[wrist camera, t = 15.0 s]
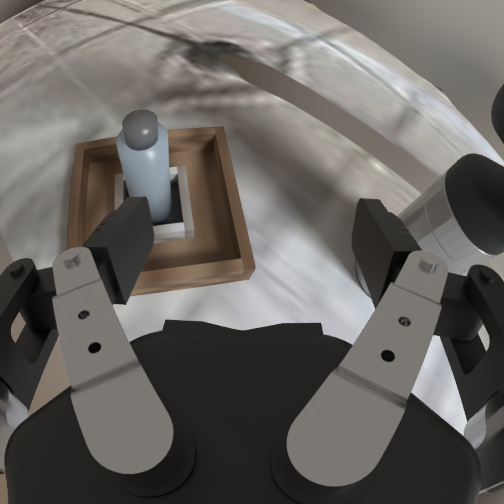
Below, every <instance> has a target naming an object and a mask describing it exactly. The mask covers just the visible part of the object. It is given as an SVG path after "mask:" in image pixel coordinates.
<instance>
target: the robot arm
mask: <svg viewBox="0 0 504 504" xmlns="http://www.w3.org/2000/svg"><path fill="white" fill-rule="evenodd" d="M491 116H492V124H493V126H494V129H495V131H496V133H497V134H498V136H499V138H500V139H501V141H502V142H503V143H504V84H503V86H502V87H501V88H500V90H499V91H498V93H497V95H496V97H495V99H494V102H493V106H492V111H491ZM153 245H154V230H153V224H152V219H151V213H150V207H149V202H148V199H147V197H145V196H142V197H127V198H126V199H125V200H124V201H123V203H122V204H121V205H120V206H119V207H118V209H117V210H114V211H113V212H111V213H110V214H108V215H107V216H105V218H104V219H103V220H102V221H101V222H100V225H98V226H97V227H96V229H95V231H93V232H92V234H91V235H90V236H89V238H88V239H87V240H86V241H85V243H84V244H83V245H82V247H75V248H71V249H68V250H66V251H64V252H63V253H61V254H60V255H59V256H57V257H56V259H55V260H54V262H53V267H50V268H45V269H41V270H37V269H36V267H35V264H34V262H33V260H32V259H29V258H24V259H20V260H17V261H15V262H13V263H12V264H10V265H9V266H8V267H7V268H6V269H5V270H4V272H3V273H2V274H1V275H0V474H4V473H5V474H6V480H7V489H8V504H476V503H477V499H478V496H479V494H480V493H482V492H485V491H488V492H491V493H497V492H500V491H502V490H504V281H503V280H502V279H501V277H500V276H499V275H498V274H497V273H496V272H495V271H494V270H492V269H491V268H489V267H487V266H484V265H480V264H482V263H484V262H486V261H488V260H489V259H491V258H493V257H495V256H497V255H499V254H501V253H503V252H504V167H503V166H502V165H500V164H498V163H496V162H494V161H492V160H491V159H489V158H487V157H485V156H482V155H479V154H467V155H465V156H463V157H462V158H460V159H459V160H458V161H457V162H456V163H455V164H454V165H453V166H452V167H450V168H449V169H448V170H447V171H446V172H445V173H444V174H443V175H442V176H441V177H440V178H439V179H438V180H437V181H436V182H434V183H433V184H432V185H431V186H430V187H429V188H428V189H427V190H426V191H425V192H424V193H423V194H421V195H420V196H419V197H418V198H417V199H416V200H415V201H414V202H412V203H411V204H410V205H409V206H408V207H407V208H406V209H405V210H403V211H402V212H401V213H400V214H399V215H398V216H395V215H394V214H393V213H391V212H388V211H387V209H386V208H385V207H384V205H383V204H382V202H381V201H380V200H379V199H364V198H360V199H359V201H358V204H357V210H356V216H355V221H354V227H353V232H352V249H353V252H354V254H355V257H356V259H357V260H356V271H357V275H358V279H359V281H360V284H361V285H362V287H363V289H364V290H365V292H366V293H367V294H368V295H369V296H370V297H371V299H372V301H373V304H374V307H375V311H374V313H373V314H372V316H371V317H370V319H369V321H368V322H367V324H366V326H365V327H364V329H363V330H362V332H361V333H360V335H359V337H358V338H357V340H356V341H355V343H354V344H353V345H352V344H350V343H348V342H346V341H344V340H341V339H339V338H336V337H332V336H329V335H324V334H323V330H322V325H321V323H281V324H276V325H271V326H266V327H261V328H255V329H250V330H236V329H231V328H227V327H223V326H219V325H215V324H210V323H206V322H202V321H182V320H165V323H164V327H163V330H162V331H158V332H154V333H150V334H147V335H144V336H141V337H139V338H137V339H134V340H133V341H131V342H129V341H128V339H127V337H126V335H125V332H124V330H123V328H122V326H121V324H120V322H119V319H118V317H117V315H116V313H115V310H114V308H113V304H124V305H126V303H127V301H128V299H129V297H130V294H131V292H132V290H133V288H134V286H135V284H136V281H137V279H138V277H139V275H140V273H141V271H142V269H143V266H144V264H145V262H146V260H147V258H148V256H149V254H150V252H151V250H152V248H153ZM467 271H469V272H468V274H467V276H463V275H461V274H463V273H465V272H467ZM19 312H20V314H21V316H22V317H23V319H24V321H25V322H26V324H25V326H24V328H23V330H22V332H21V334H20V336H19V338H18V339H17V342H16V343H15V342H14V341H13V339H12V336H11V325H12V323H13V321H14V320H15V318H16V316H17V314H18V313H19ZM483 324H484V326H485V328H486V330H487V332H488V334H489V338H490V344H489V348H488V350H487V352H486V350H485V348H484V346H483V343H482V341H481V339H480V337H479V335H478V332H479V330H480V328H481V327H482V325H483ZM433 335H437V336H440V339H441V341H442V344H443V347H444V349H445V352H446V355H447V358H448V361H449V363H450V366H451V369H452V372H453V375H454V378H455V381H456V384H457V388H458V391H459V394H460V397H461V401H462V404H463V408H464V411H465V415H466V419H467V424H466V426H465V430H464V436H463V435H462V434H460V433H459V432H458V431H457V430H456V429H454V428H453V427H452V426H451V425H450V424H448V423H447V422H446V421H445V420H444V419H442V418H441V417H440V416H439V415H438V414H436V413H435V412H434V411H433V410H432V409H430V408H429V407H428V406H427V405H426V404H424V403H423V402H422V401H421V400H420V399H418V398H417V397H416V396H415V395H414V394H412V393H411V390H412V388H413V386H414V383H415V381H416V379H417V376H418V374H419V371H420V369H421V366H422V364H423V361H424V358H425V356H426V353H427V350H428V348H429V345H430V342H431V339H432V336H433ZM58 336H59V338H60V343H61V347H62V351H63V355H64V360H65V363H66V367H67V371H68V375H69V378H70V382H71V386H69V387H68V388H67V389H65V390H64V391H63V392H61V393H60V394H59V395H57V396H56V397H55V398H53V399H52V400H51V401H49V402H48V403H47V404H45V405H44V406H43V407H41V408H40V409H39V410H37V411H36V412H35V413H33V414H32V415H31V416H29V413H28V411H29V408H30V405H31V403H32V400H33V397H34V394H35V392H36V389H37V386H38V383H39V381H40V379H41V376H42V373H43V371H44V368H45V366H46V364H47V361H48V359H49V357H50V354H51V352H52V350H53V347H54V345H55V343H56V341H57V338H58Z"/></svg>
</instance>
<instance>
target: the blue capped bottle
mask: <svg viewBox="0 0 504 504" xmlns="http://www.w3.org/2000/svg"><path fill="white" fill-rule="evenodd" d="M122 125H123V130H122V131H121V132H120V133H119V135H118V137H117V141H116V145H117V149H118V153H119V158H120V162H121V166H122V170H123V173H124V177H125V181H126V185H127V189H128V192H129V196H130V197H142V196H145V197H147V199H148V202H149V207H150V213H151V219H152V224H153V226H158V225H162V224H164V223H165V222H166V221H167V220H168V219H169V218H170V216H171V213H172V201H171V186H170V170H169V150H168V133H167V130H166V128H165V127H164V126H163V125H161V124H160V123H158V122H157V116H156V115H155V113H153V112H152V111H149V110H137V111H134V112H132V113H130V114H128V115H127V116H126V117H125V118H124V120H123V123H122Z"/></svg>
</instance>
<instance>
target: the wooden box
mask: <svg viewBox="0 0 504 504" xmlns="http://www.w3.org/2000/svg"><path fill="white" fill-rule="evenodd" d="M167 133H168V150H169V170H170V186H171V201H172V213H171V216H170V218H169V219H168V220H167V221H166V222H165V223H164V224H162V225H158V226H153V230H154V245H153V248H152V250H151V252H150V254H149V256H148V258H147V260H146V262H145V264H144V266H143V269H142V271H141V273H140V275H139V277H138V279H137V281H136V284H135V286H134V288H133V290H132V292H131V294H130V296H136V295H143V294H151V293H158V292H166V291H173V290H180V289H187V288H195V287H202V286H208V285H215V284H222V283H229V282H235V281H242V280H248V279H250V277H251V275H252V274H253V272H254V270H255V269H256V267H255V262H254V258H253V254H252V249H251V245H250V240H249V236H248V232H247V227H246V223H245V219H244V214H243V210H242V205H241V201H240V197H239V192H238V188H237V184H236V179H235V175H234V170H233V166H232V162H231V157H230V153H229V149H228V144H227V140H226V135H225V131H224V127H207V128H193V129H180V130H169V131H167ZM116 141H117V137H114V138H107V139H101V140H95V141H90V142H84V143H79V144H76V150H75V157H74V164H73V172H72V180H71V190H70V201H69V214H68V233H67V250H68V249H71V248H75V247H82V245H83V244H84V243H85V241H86V240H87V239H88V238H89V236H90V235H91V234H92V232H93V231H95V229H96V227H97V226H98V225H100V222H101V221H102V220H103V219H104V218H105V216H107V215H108V214H110V213H111V212H113V211H114V210H117V209H118V207H119V206H120V205H121V204H122V203H123V201H124V200H125V199H126V198H127V197H130V196H129V192H128V189H127V185H126V181H125V177H124V173H123V170H122V166H121V162H120V158H119V153H118V149H117V145H116Z"/></svg>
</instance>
